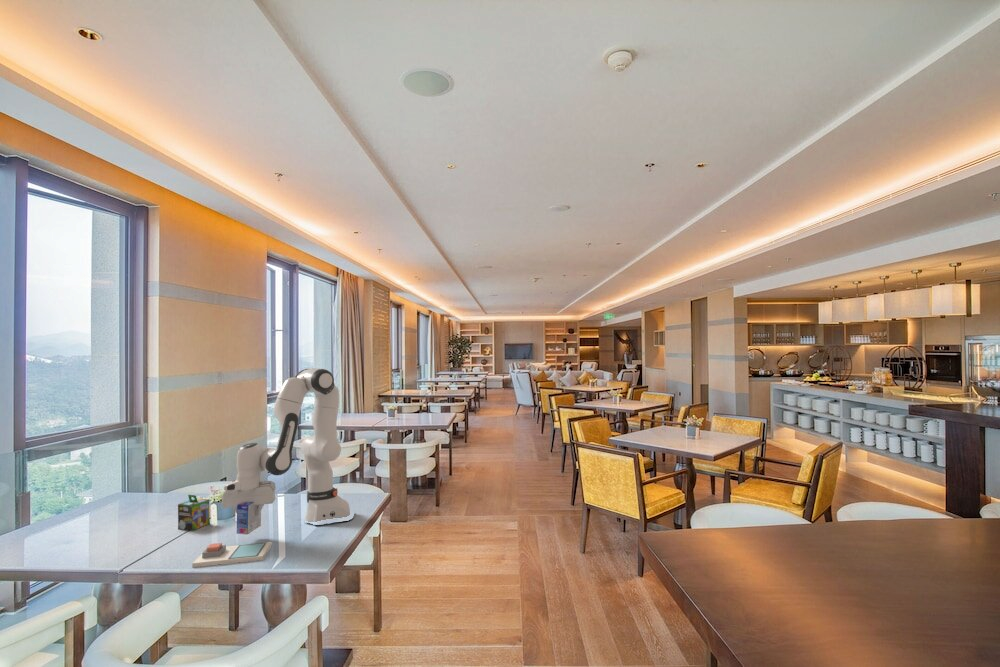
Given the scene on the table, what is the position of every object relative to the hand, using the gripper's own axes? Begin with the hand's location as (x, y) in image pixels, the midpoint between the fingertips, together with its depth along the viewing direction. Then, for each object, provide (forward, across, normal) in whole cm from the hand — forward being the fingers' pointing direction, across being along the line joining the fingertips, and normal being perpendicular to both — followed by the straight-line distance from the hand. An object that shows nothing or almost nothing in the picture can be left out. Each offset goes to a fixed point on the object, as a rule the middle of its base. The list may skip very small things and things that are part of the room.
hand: (249, 515), depth 200 cm
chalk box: (+11, +30, -26) cm, 41 cm away
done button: (+7, +8, +15) cm, 19 cm away
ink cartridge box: (+6, 0, 0) cm, 6 cm away
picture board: (+10, +2, +15) cm, 18 cm away
